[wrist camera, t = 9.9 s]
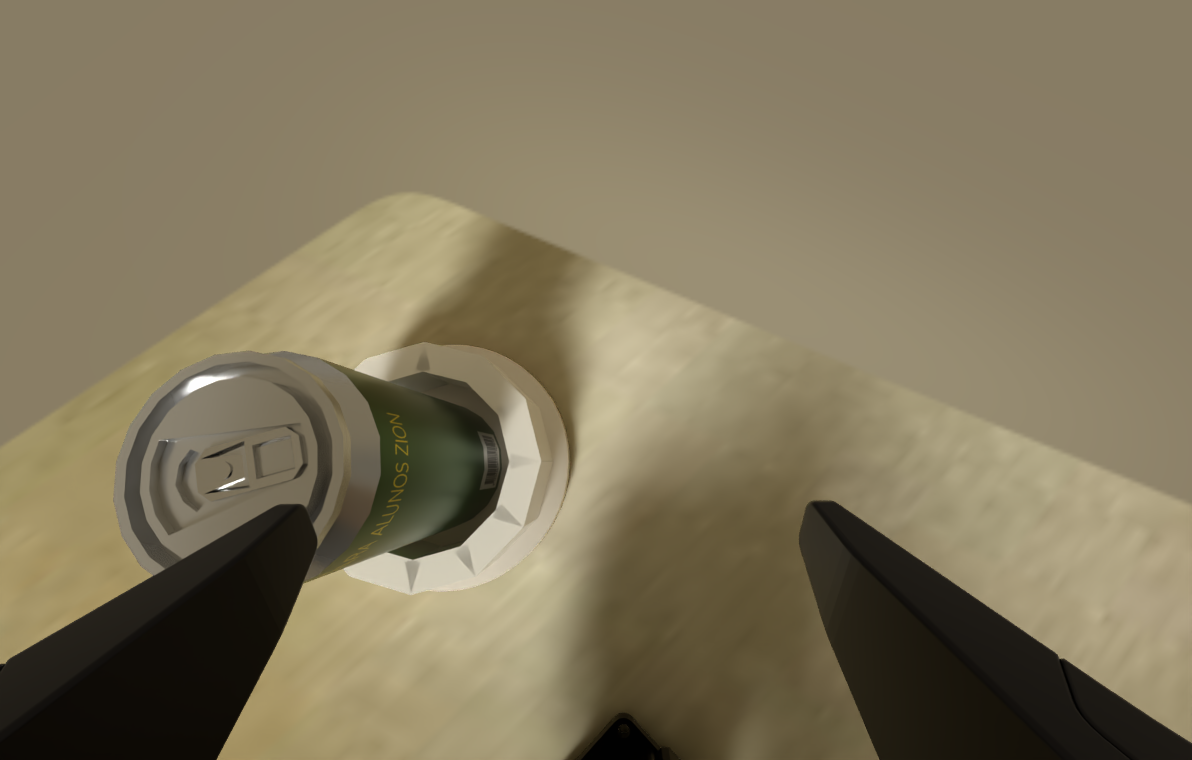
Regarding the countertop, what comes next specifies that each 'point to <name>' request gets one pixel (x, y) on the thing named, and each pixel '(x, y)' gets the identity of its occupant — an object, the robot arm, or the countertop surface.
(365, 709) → the countertop surface
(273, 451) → the beer can
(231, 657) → the robot arm
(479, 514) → the can holder
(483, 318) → the countertop surface
